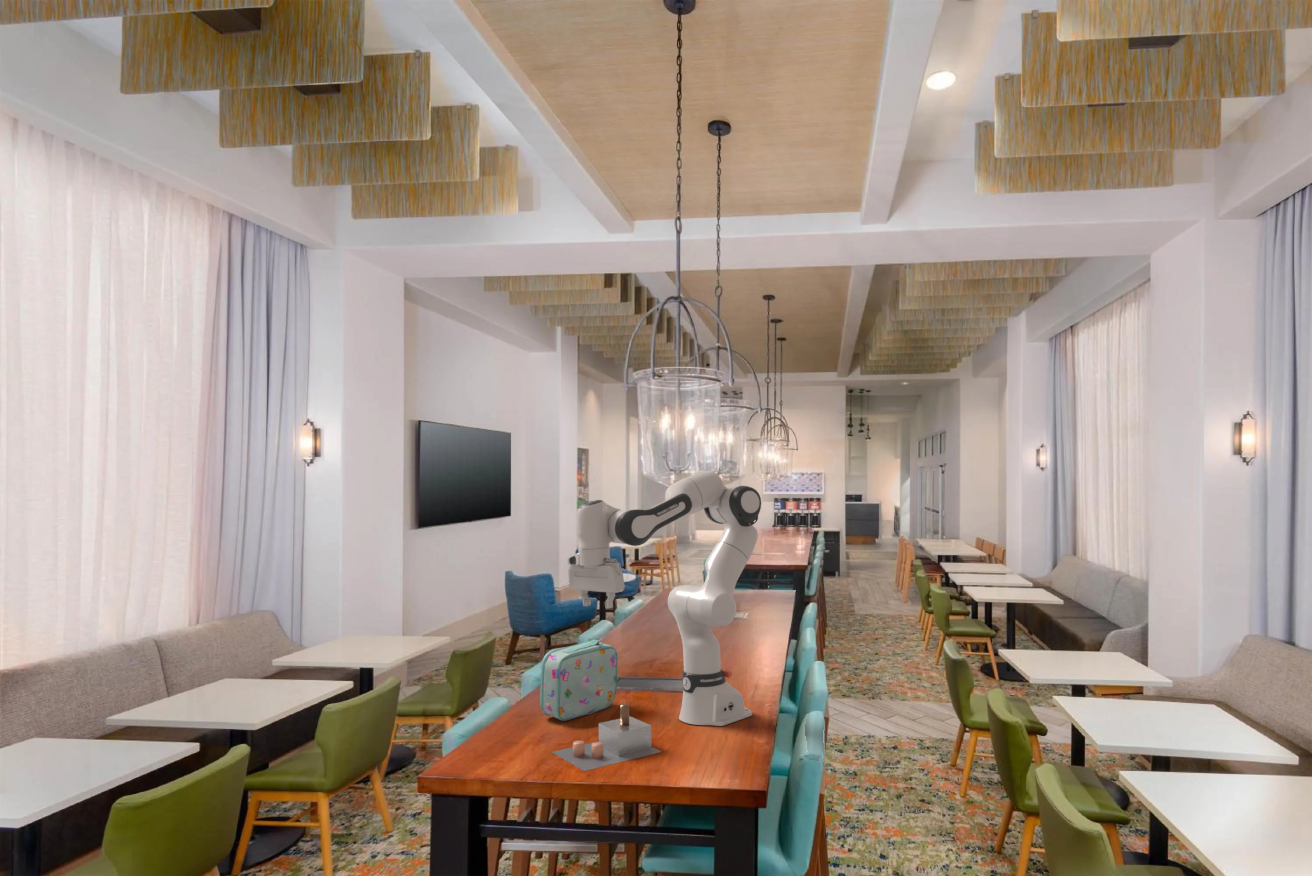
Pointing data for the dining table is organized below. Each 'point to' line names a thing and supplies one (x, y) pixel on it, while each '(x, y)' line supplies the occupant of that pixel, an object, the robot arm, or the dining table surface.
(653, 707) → the dining table surface
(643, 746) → the steel cover
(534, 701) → the dining table surface
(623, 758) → the tray
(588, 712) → the lunch box
